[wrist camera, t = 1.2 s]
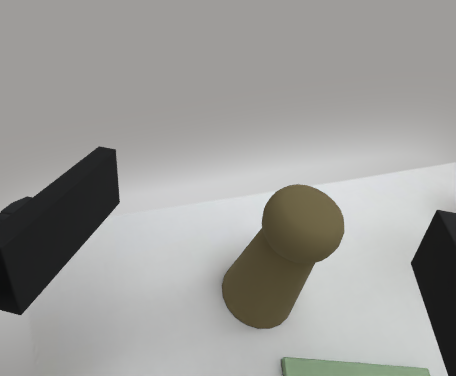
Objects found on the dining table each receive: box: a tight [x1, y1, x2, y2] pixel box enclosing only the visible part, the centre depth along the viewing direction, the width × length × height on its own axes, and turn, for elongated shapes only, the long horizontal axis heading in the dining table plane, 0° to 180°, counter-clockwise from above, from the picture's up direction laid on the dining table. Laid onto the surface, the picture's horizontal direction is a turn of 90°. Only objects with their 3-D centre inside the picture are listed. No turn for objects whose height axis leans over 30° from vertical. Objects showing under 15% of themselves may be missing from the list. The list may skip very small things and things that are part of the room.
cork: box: [222, 185, 344, 329], centre depth 26 cm, size 6×6×11 cm
